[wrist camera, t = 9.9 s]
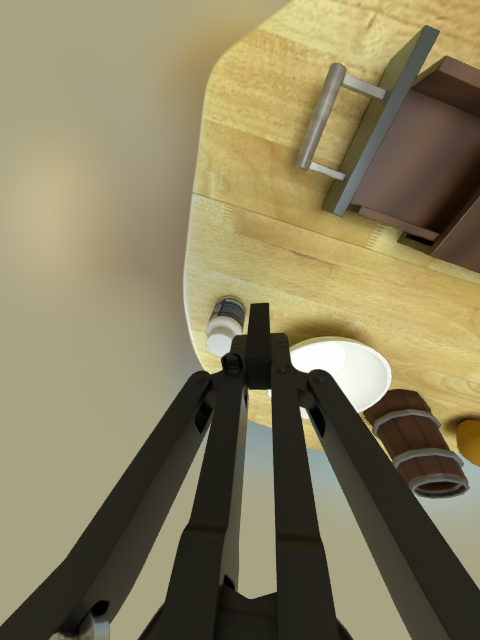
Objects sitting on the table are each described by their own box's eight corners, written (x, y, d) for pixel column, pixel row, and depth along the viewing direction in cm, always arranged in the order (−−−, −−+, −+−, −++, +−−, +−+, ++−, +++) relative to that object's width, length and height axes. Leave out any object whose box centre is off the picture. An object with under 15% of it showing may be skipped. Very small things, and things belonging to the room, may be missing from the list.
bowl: (382, 310, 33) (407, 336, 27) (363, 389, 43) (378, 420, 37) (261, 320, 36) (260, 345, 30) (270, 391, 46) (271, 420, 41)
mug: (357, 397, 45) (393, 479, 32) (422, 383, 41) (491, 471, 28) (371, 433, 52) (405, 512, 39) (427, 424, 48) (485, 509, 35)
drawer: (281, 195, 25) (285, 196, 21) (337, 36, 18) (358, -7, 14) (425, 246, 26) (453, 256, 22) (526, 118, 19) (594, 100, 15)
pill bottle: (219, 290, 34) (205, 324, 26) (250, 301, 34) (246, 337, 26) (211, 316, 37) (196, 353, 29) (239, 325, 37) (233, 364, 29)
